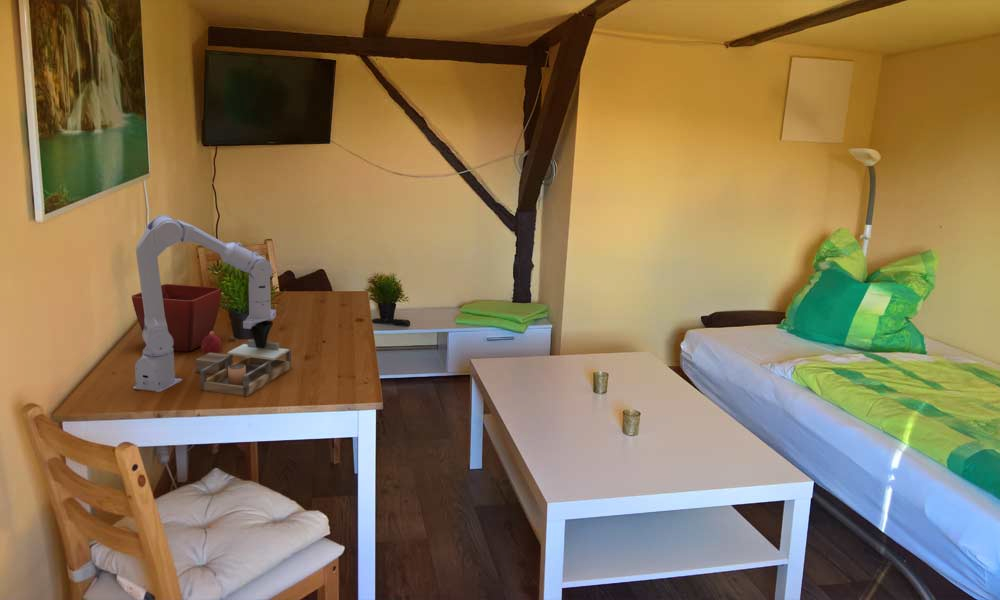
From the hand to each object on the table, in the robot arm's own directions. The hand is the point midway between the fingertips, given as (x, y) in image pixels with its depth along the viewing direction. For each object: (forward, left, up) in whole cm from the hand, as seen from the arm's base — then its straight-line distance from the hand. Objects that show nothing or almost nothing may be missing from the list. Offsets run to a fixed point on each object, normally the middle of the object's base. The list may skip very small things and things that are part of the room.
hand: (260, 347), depth 205 cm
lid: (-1, 0, -1) cm, 2 cm away
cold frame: (-7, 0, -7) cm, 10 cm away
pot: (-12, 0, -7) cm, 14 cm away
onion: (+6, +19, -7) cm, 21 cm away
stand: (-4, +12, -7) cm, 15 cm away
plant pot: (+14, +35, -8) cm, 38 cm away
